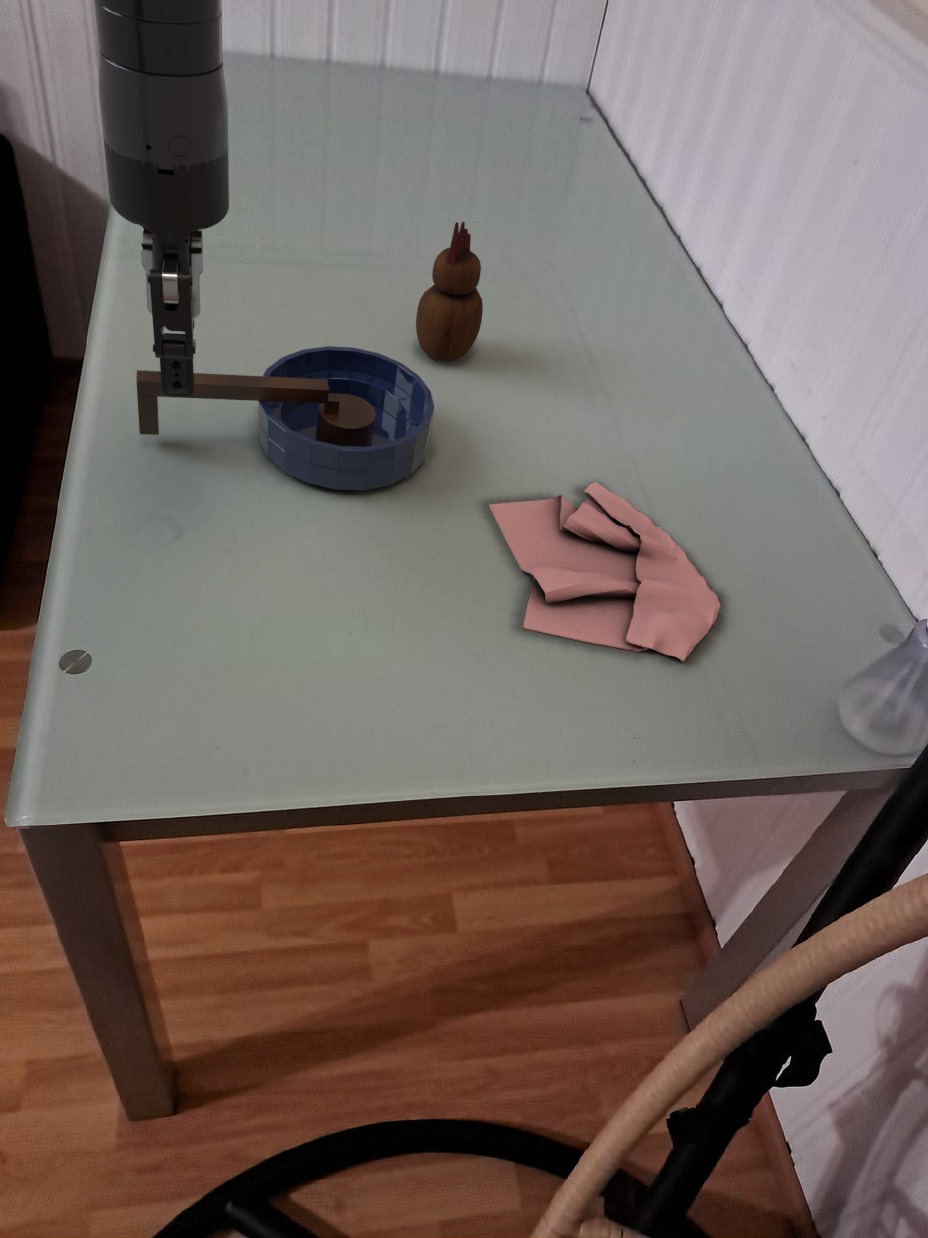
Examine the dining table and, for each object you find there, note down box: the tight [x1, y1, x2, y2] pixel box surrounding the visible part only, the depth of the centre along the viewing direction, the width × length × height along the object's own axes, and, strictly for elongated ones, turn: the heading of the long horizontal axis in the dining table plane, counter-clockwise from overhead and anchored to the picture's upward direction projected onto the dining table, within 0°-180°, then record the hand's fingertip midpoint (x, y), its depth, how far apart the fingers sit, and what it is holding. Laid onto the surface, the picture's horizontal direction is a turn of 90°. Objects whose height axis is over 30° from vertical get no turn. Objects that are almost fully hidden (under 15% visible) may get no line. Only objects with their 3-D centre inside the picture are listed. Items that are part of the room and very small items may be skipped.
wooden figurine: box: [415, 221, 484, 363], centre depth 96 cm, size 7×6×15 cm
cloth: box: [488, 481, 722, 663], centre depth 82 cm, size 20×22×2 cm
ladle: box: [135, 369, 376, 447], centre depth 84 cm, size 21×5×6 cm, turn 102°
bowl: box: [257, 345, 435, 491], centre depth 87 cm, size 16×16×5 cm
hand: (179, 360), depth 71 cm, fingers open, 8 cm apart
